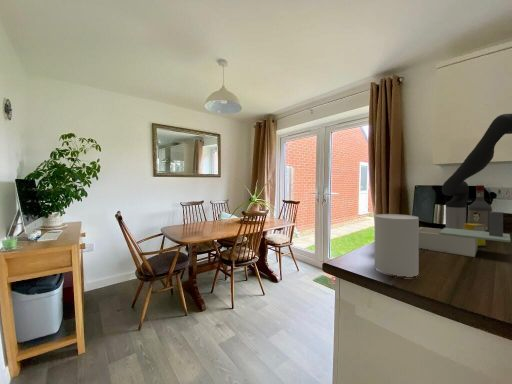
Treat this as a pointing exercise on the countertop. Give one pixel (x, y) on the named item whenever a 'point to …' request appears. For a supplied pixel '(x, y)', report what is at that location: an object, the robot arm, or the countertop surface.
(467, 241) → the carton
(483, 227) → the supplement box
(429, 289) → the countertop surface
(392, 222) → the canister
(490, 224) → the carton lid
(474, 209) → the liquor
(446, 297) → the countertop surface
